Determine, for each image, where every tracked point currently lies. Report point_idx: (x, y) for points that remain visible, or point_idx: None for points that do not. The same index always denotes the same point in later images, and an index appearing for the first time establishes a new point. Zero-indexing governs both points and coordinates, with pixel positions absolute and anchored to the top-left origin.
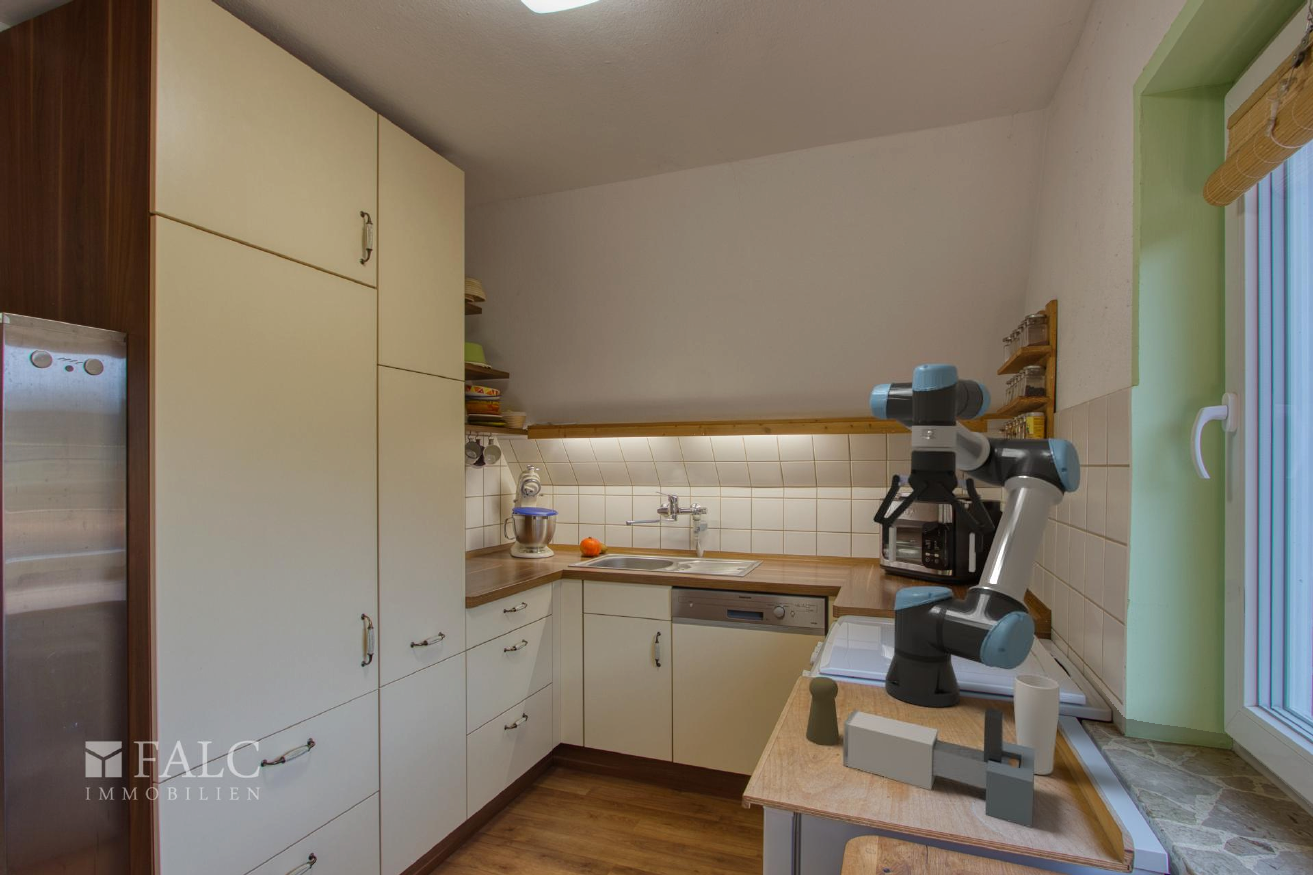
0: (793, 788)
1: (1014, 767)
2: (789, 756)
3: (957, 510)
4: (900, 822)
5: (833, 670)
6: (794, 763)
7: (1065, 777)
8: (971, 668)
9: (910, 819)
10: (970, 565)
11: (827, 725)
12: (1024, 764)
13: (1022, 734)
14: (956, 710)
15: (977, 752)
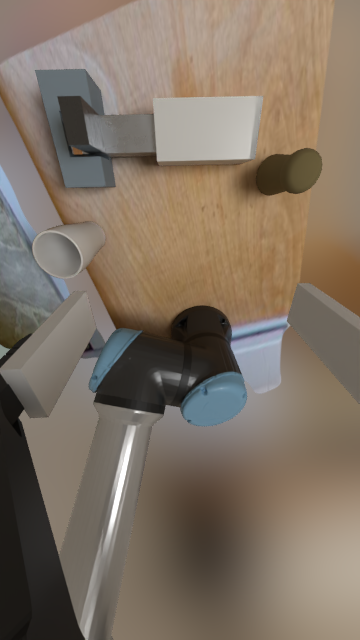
0: None
1: None
2: (305, 94)
3: (3, 531)
4: None
5: (275, 337)
6: (298, 76)
7: None
8: None
9: (159, 7)
10: (75, 298)
11: (275, 158)
12: (58, 127)
13: (88, 227)
14: (169, 313)
15: (111, 142)
